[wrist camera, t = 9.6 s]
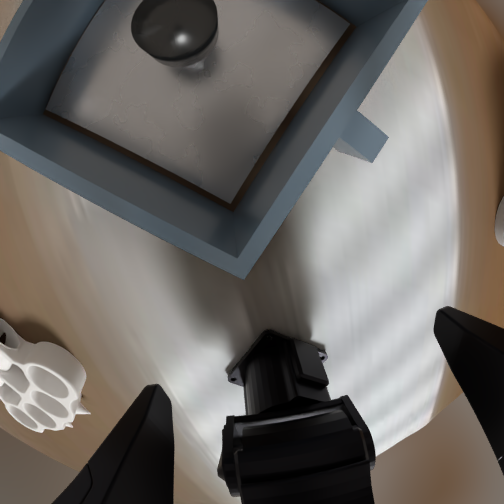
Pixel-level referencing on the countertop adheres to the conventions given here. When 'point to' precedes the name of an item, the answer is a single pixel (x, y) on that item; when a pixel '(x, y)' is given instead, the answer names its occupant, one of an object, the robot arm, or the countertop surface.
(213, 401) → the countertop surface
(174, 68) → the lid with knob
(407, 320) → the countertop surface
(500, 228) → the cup
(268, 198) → the blue grey open box
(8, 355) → the white muffin tray
